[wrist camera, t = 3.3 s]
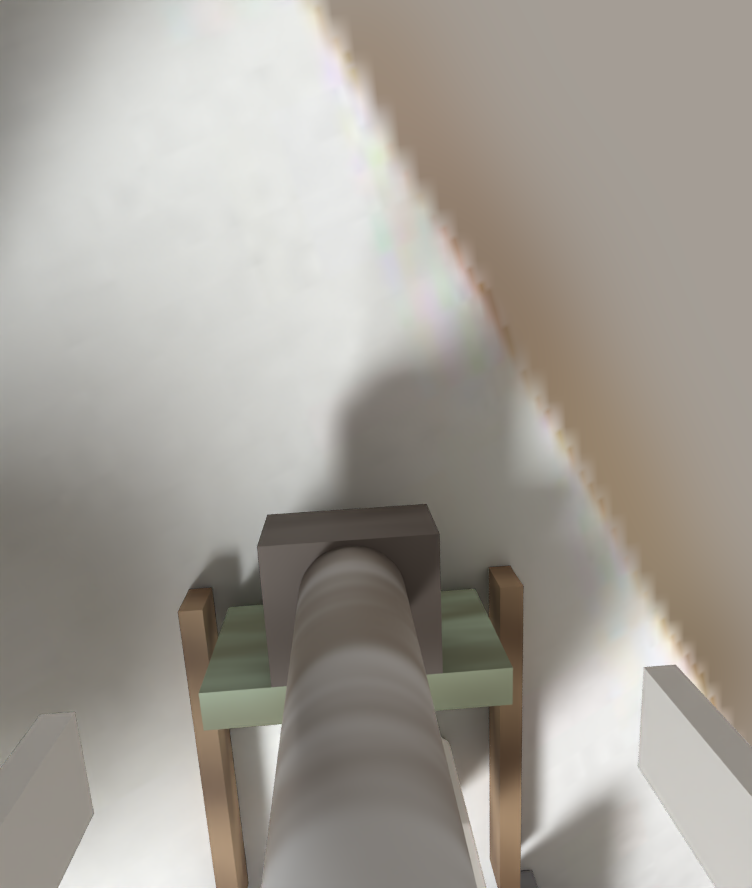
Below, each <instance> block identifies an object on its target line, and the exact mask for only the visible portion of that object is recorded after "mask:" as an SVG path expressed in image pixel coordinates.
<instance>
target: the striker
mask: <svg viewBox="0 0 752 888" xmlns="http://www.w3.org/2000/svg"><path fill="white" fill-rule="evenodd" d="M257 550H258V560H259V570H260V580H261V589H262V599H263V605H250V606H237V607H229V608H228V611H227V614H226V617H225V619H224V622H223V625H222V628H221V631H220V634H219V637H218V639H217V642H216V645H215V648H214V651H213V654H212V657H211V659H210V662H209V665H208V668H207V671H206V674H205V677H204V679H203V682H202V685H201V688H200V691H199V700H200V707H201V715H202V722H203V730H204V731H206V730H218V729H230V728H241V727H253V726H265V725H277V724H282V728H281V735H280V743H279V751H278V759H277V766H276V774H275V782H274V790H273V798H272V805H271V813H270V821H269V829H268V837H267V844H266V852H265V860H264V868H263V875H262V883H261V888H477V885H476V880H475V876H474V872H473V868H472V864H471V860H470V855H469V851H468V847H467V843H466V839H465V834H464V830H463V826H462V822H461V818H460V814H459V809H458V805H457V801H456V797H455V793H454V788H453V784H452V780H451V776H450V772H449V768H448V763H447V759H446V755H445V751H444V747H443V743H442V738H441V734H440V730H439V726H438V722H437V717H436V713H435V711H441V710H453V709H465V708H477V707H488V706H500V705H512V704H513V667H512V665H511V663H510V661H509V659H508V656H507V654H506V652H505V650H504V648H503V646H502V644H501V642H500V640H499V638H498V636H497V634H496V631H495V629H494V627H493V625H492V623H491V621H490V619H489V617H488V615H487V613H486V611H485V608H484V606H483V604H482V602H481V600H480V598H479V596H478V594H477V592H476V590H475V589H464V590H450V591H441V578H440V538H439V532H438V530H437V527H436V525H435V523H434V520H433V518H432V516H431V514H430V511H429V509H428V507H427V505H426V504H420V505H405V506H390V507H375V508H360V509H346V510H331V511H316V512H301V513H286V514H271V515H267V518H266V521H265V524H264V527H263V530H262V533H261V536H260V539H259V542H258V546H257Z"/></svg>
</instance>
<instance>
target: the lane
mask: <svg viewBox="0 0 752 888" xmlns="http://www.w3.org/2000/svg"><path fill="white" fill-rule="evenodd" d="M178 617H179V624H180V631H181V638H182V645H183V653H184V660H185V667H186V674H187V681H188V689H189V696H190V703H191V710H192V717H193V724H194V732H195V739H196V746H197V753H198V760H199V767H200V775H201V782H202V789H203V796H204V803H205V811H206V818H207V825H208V832H209V839H210V846H211V854H212V861H213V868H214V875H215V882H216V888H248V876H247V868H246V859H245V851H244V843H243V835H242V827H241V819H240V811H239V803H238V795H237V786H236V778H235V770H234V762H233V754H232V746H231V738H230V730H229V729H218V730H206V731H204V730H203V722H202V715H201V707H200V700H199V691H200V688H201V685H202V682H203V679H204V677H205V674H206V671H207V668H208V665H209V662H210V659H211V657H212V654H213V651H214V648H215V645H216V642H217V639H218V632H217V624H216V616H215V608H214V600H213V592H212V588H199V589H189V591H188V593H187V595H186V597H185V599H184V601H183V603H182V605H181V607H180V609H179V611H178ZM489 619H490V621H491V623H492V625H493V627H494V629H495V631H496V634H497V636H498V638H499V640H500V642H501V644H502V646H503V648H504V650H505V652H506V654H507V656H508V659H509V661H510V663H511V665H512V667H513V704H512V705H500V706H489V760H490V861H491V865H492V869H493V872H494V876H495V879H496V883H497V887H498V888H538V886H537V883H536V880H535V877H534V874H533V871H532V870H530V871H520V863H521V768H522V673H523V585H522V583H521V581H520V580H519V578H518V577H517V575H516V574H515V572H514V571H513V569H512V568H511V566H500V567H489Z"/></svg>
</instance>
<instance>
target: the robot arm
mask: <svg viewBox="0 0 752 888" xmlns="http://www.w3.org/2000/svg"><path fill="white" fill-rule="evenodd" d="M638 768H639V769H640V771H641V772H642V774H643V776H644V777H645V779H646V780H647V782H648V783H649V785H650V787H651V788H652V790H653V791H654V793H655V794H656V796H657V797H658V799H659V801H660V802H661V804H662V805H663V807H664V808H665V810H666V811H667V813H668V815H669V816H670V818H671V819H672V821H673V822H674V824H675V826H676V827H677V829H678V830H679V832H680V833H681V835H682V836H683V838H684V840H685V841H686V843H687V844H688V846H689V847H690V849H691V850H692V852H693V854H694V855H695V857H696V858H697V860H698V861H699V863H700V865H701V866H702V868H703V869H704V871H705V872H706V874H707V875H708V877H709V879H710V880H711V882H712V883H713V885H714V886H715V888H752V747H751V745H749V743H748V742H747V741H746V740H745V739H744V738H743V737H742V736H741V735H740V734H739V733H738V731H737V730H736V729H735V728H734V727H733V726H732V725H731V724H730V723H729V722H728V721H727V720H726V719H725V717H724V716H723V715H722V714H721V713H720V712H719V711H718V710H717V709H716V708H715V707H714V706H713V705H712V703H711V702H710V701H709V700H708V699H707V698H706V697H705V696H704V695H703V694H702V693H701V692H700V690H699V689H698V688H697V687H696V686H695V685H694V684H693V683H692V682H691V681H690V680H689V679H688V678H687V676H686V675H685V674H684V673H683V672H682V671H681V670H680V669H679V668H678V667H677V666H676V665H665V666H653V667H644V673H643V689H642V706H641V723H640V739H639V756H638ZM93 814H94V811H93V806H92V800H91V795H90V790H89V784H88V779H87V774H86V768H85V763H84V758H83V752H82V747H81V742H80V736H79V731H78V726H77V720H76V715H75V712H65V713H53V714H40V715H39V717H38V718H37V719H36V721H35V722H34V724H33V725H32V726H31V728H30V729H29V730H28V732H27V733H26V734H25V736H24V737H23V739H22V740H21V741H20V743H19V744H18V745H17V747H16V748H15V749H14V751H13V752H12V754H11V755H10V756H9V758H8V759H7V760H6V762H5V763H4V765H3V766H2V767H1V769H0V888H58V886H59V884H60V882H61V880H62V878H63V876H64V874H65V872H66V870H67V868H68V866H69V864H70V862H71V860H72V858H73V856H74V853H75V851H76V849H77V847H78V845H79V843H80V841H81V839H82V837H83V835H84V833H85V831H86V829H87V827H88V825H89V823H90V821H91V818H92V816H93Z"/></svg>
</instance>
